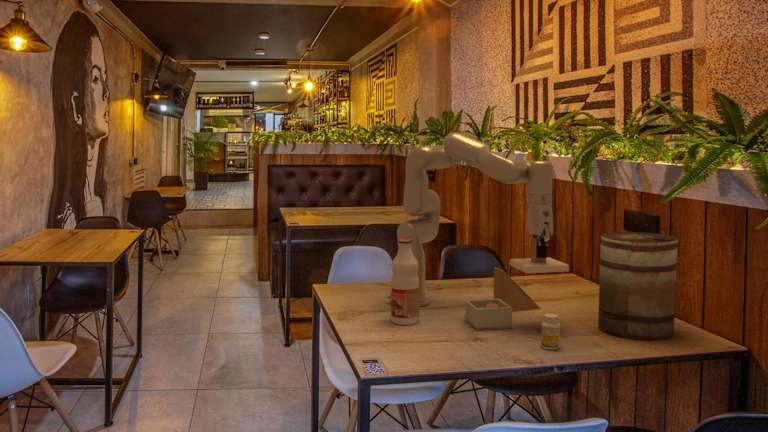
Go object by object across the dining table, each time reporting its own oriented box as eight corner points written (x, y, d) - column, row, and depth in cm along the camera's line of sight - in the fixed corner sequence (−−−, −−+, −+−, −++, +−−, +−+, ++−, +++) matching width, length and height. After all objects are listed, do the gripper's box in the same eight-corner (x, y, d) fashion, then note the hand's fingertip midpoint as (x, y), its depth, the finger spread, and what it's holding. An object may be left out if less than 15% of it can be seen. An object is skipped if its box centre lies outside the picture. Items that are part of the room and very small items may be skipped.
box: (476, 330, 204) (476, 309, 204) (464, 320, 216) (465, 300, 215) (511, 328, 207) (512, 307, 206) (498, 318, 218) (499, 298, 217)
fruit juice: (419, 325, 211) (419, 241, 208) (391, 325, 211) (390, 241, 208) (418, 317, 220) (418, 237, 217) (391, 318, 220) (390, 237, 217)
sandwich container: (542, 309, 231) (543, 268, 229) (503, 312, 227) (504, 271, 225) (530, 303, 239) (531, 264, 238) (493, 306, 235) (493, 266, 233)
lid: (526, 273, 198) (527, 241, 197) (509, 265, 212) (510, 235, 210) (568, 271, 200) (569, 239, 199) (549, 263, 214) (550, 233, 213)
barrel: (679, 326, 208) (683, 235, 204) (667, 345, 189) (671, 244, 186) (607, 316, 220) (610, 230, 217) (589, 333, 201) (592, 238, 198)
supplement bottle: (554, 351, 184) (555, 318, 183) (537, 347, 187) (538, 315, 186) (562, 346, 188) (563, 315, 187) (546, 343, 191) (546, 311, 190)
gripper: (562, 201, 196) (561, 260, 198) (540, 197, 212) (539, 252, 214) (539, 202, 195) (538, 261, 197) (518, 197, 211) (517, 252, 213)
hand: (538, 256), depth 206 cm, fingers closed on lid, 3 cm apart
